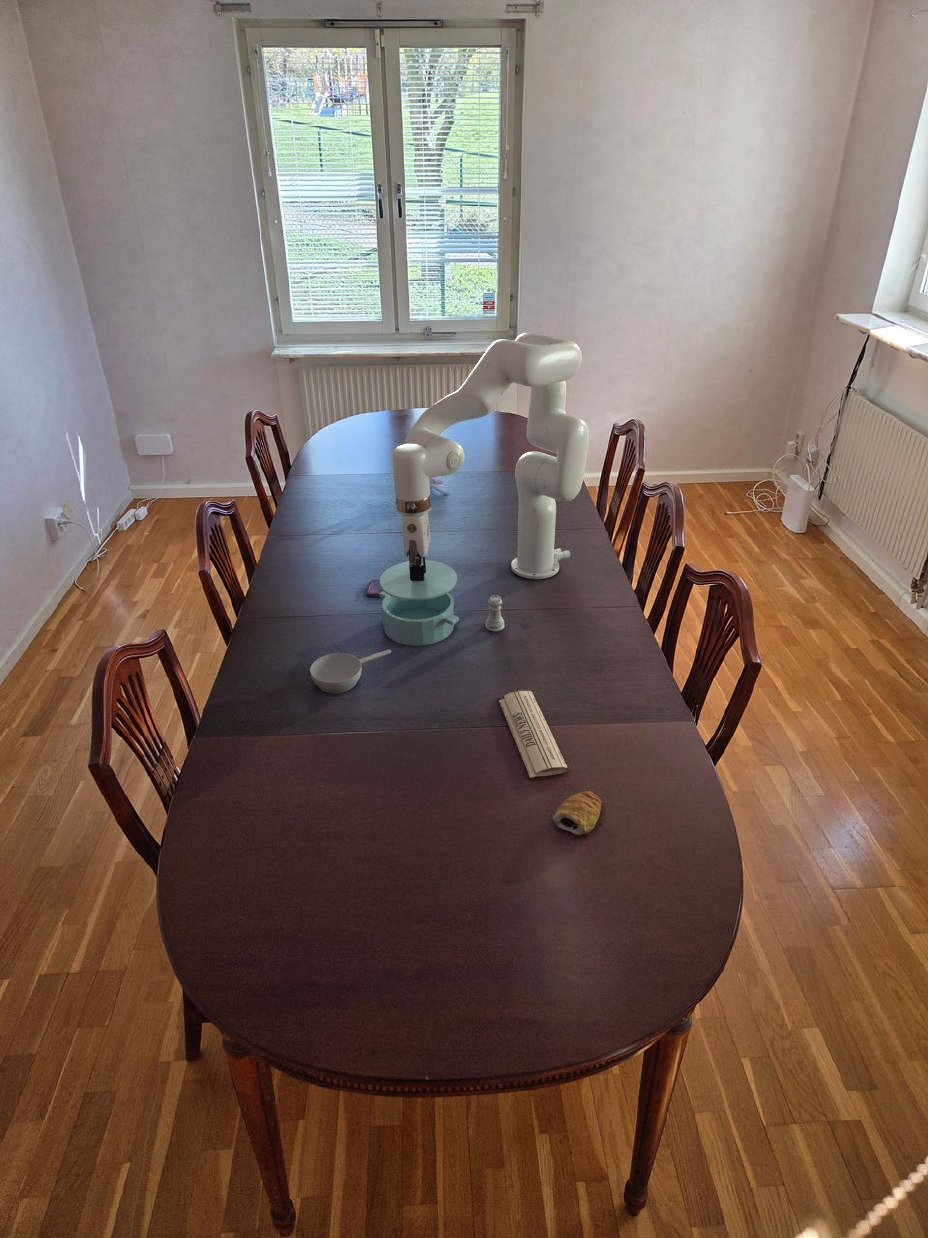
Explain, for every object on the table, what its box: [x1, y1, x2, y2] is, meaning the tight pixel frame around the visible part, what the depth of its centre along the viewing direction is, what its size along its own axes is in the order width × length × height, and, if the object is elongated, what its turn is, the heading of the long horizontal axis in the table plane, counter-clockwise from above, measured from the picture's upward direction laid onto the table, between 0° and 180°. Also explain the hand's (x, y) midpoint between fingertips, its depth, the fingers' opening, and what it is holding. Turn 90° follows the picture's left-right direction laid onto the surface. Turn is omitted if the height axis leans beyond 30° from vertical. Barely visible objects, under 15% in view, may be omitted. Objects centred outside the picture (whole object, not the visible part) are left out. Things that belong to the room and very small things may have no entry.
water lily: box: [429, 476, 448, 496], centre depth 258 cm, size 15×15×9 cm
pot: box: [379, 591, 460, 646], centre depth 191 cm, size 17×22×6 cm
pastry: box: [552, 790, 602, 836], centre depth 139 cm, size 9×7×4 cm
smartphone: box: [366, 579, 383, 598], centre depth 207 cm, size 7×15×1 cm, turn 85°
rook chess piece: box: [485, 594, 505, 633], centre depth 189 cm, size 4×4×8 cm
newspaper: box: [498, 690, 569, 779], centre depth 158 cm, size 24×7×2 cm, turn 12°
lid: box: [379, 557, 458, 601], centre depth 185 cm, size 18×18×6 cm
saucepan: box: [309, 648, 392, 694], centre depth 175 cm, size 11×18×4 cm, turn 118°
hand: (418, 576), depth 186 cm, fingers closed on lid, 2 cm apart
